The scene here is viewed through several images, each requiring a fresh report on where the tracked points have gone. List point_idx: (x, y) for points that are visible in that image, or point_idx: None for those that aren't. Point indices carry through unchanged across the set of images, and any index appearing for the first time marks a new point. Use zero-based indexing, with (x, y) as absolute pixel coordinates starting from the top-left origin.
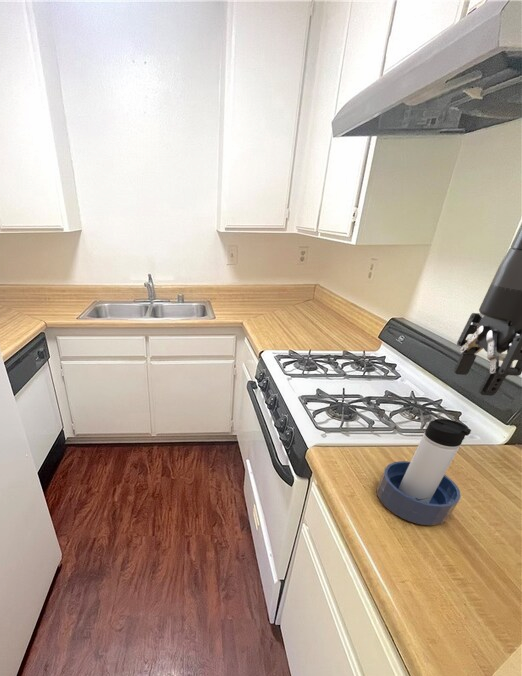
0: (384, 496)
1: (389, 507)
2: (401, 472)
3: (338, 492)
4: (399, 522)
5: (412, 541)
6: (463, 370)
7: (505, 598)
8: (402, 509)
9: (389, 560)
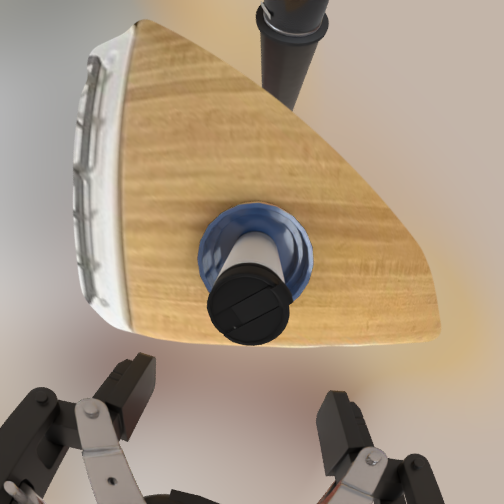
0: None
1: None
2: (208, 253)
3: None
4: None
5: (324, 289)
6: (149, 379)
7: (401, 233)
8: None
9: (343, 328)
